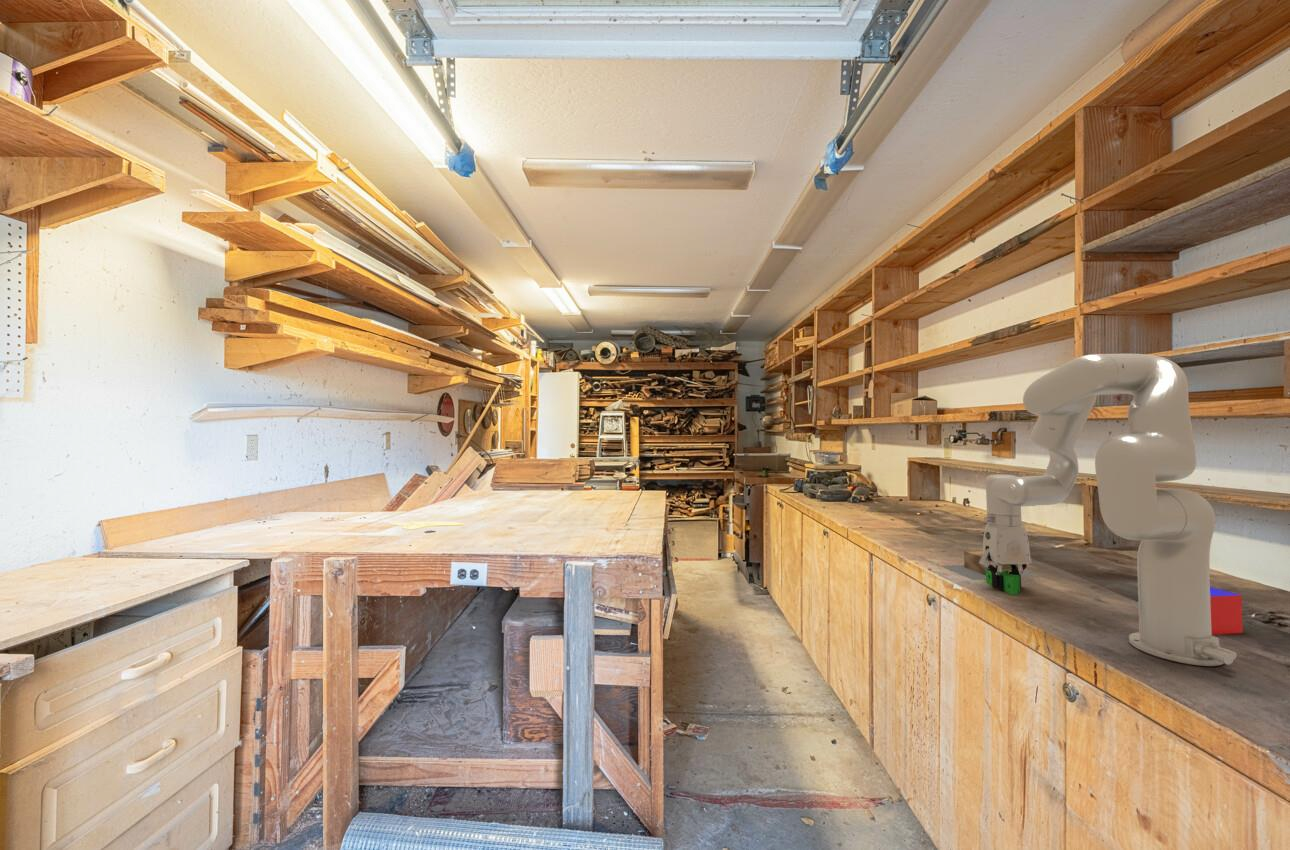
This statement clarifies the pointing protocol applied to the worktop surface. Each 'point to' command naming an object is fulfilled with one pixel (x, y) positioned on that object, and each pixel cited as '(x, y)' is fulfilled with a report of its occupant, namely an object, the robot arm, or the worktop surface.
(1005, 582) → the green notched block
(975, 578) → the mat
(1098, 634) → the worktop surface
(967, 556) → the base brick
